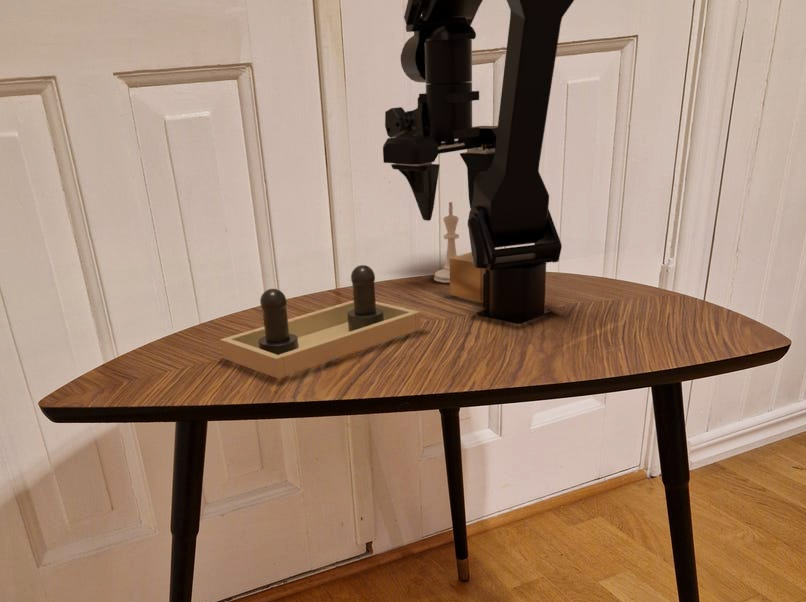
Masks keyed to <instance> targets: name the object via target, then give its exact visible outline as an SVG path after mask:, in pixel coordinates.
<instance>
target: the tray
mask: <svg viewBox="0 0 806 602" xmlns="http://www.w3.org/2000/svg"><path fill="white" fill-rule="evenodd" d="M375 301H376V308H380V309H382V310H383V313H384V321H381V322H378V323H375V324H372V325H369V326H366V327H363V328H360V329H357V330H354V331H351V332H349V329H348V316H347V313H348V311H350V310H352V309H354V299H353V300H350V301H346V302H343V303H340V304H336V305H333V306H328V307H326V308H323V309H318V310H315V311H312V312H308V313H305V314H302V315H298V316H295V317H292V318H291V317H290V318H288V327H289V334H294V335H296V336H297V337H298V345H299V348H298V349H295V350H292V351H289V352H286V353H283V354H280V355H276V354H274V353H271V352H268V351H265V350H262V349H259V344H258V340H259V339H260V338H262V337H264V336H265V328H264V326H261V327H258V328H255V329H250V330H247V331H244V332H241V333H238V334H234V335H230V336H228V337H224V338H220V340H219V341H220V348H221V355H222V358H223V359H224V360H227V361H228V362H232V363H234V364H237V365H239V366H242V367H246V368H248V369H250V370H253V371H256V372H258V373H260V374H261V373H262V374H264V375H266V376H270V377H272V378H275V379H277V380H280V379H282V378H285V377H288V376H291V375H294V374H297V373H299V372H303V371H306V370H309V369H311V368H314V367H317V366H320V365H323V364H326V363H329V362H332V361H335V360H337V359H340V358H343V357H346V356H349V355H352V354H355V353H358V352H360V351H363V350H367V349H369V348H372V347H375V346H378V345H381V344H383V343H386V342H389V341H392V340H394V339H399V338H401V337H404V336H406V335H409V334H412V333H416V332H418V331H421V327H422V326H421V312H420V311H419V310H415V309H411V308H406V307H402V306H398V305H394V304H389V303H386V302H380V301H377V300H375Z"/></svg>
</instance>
